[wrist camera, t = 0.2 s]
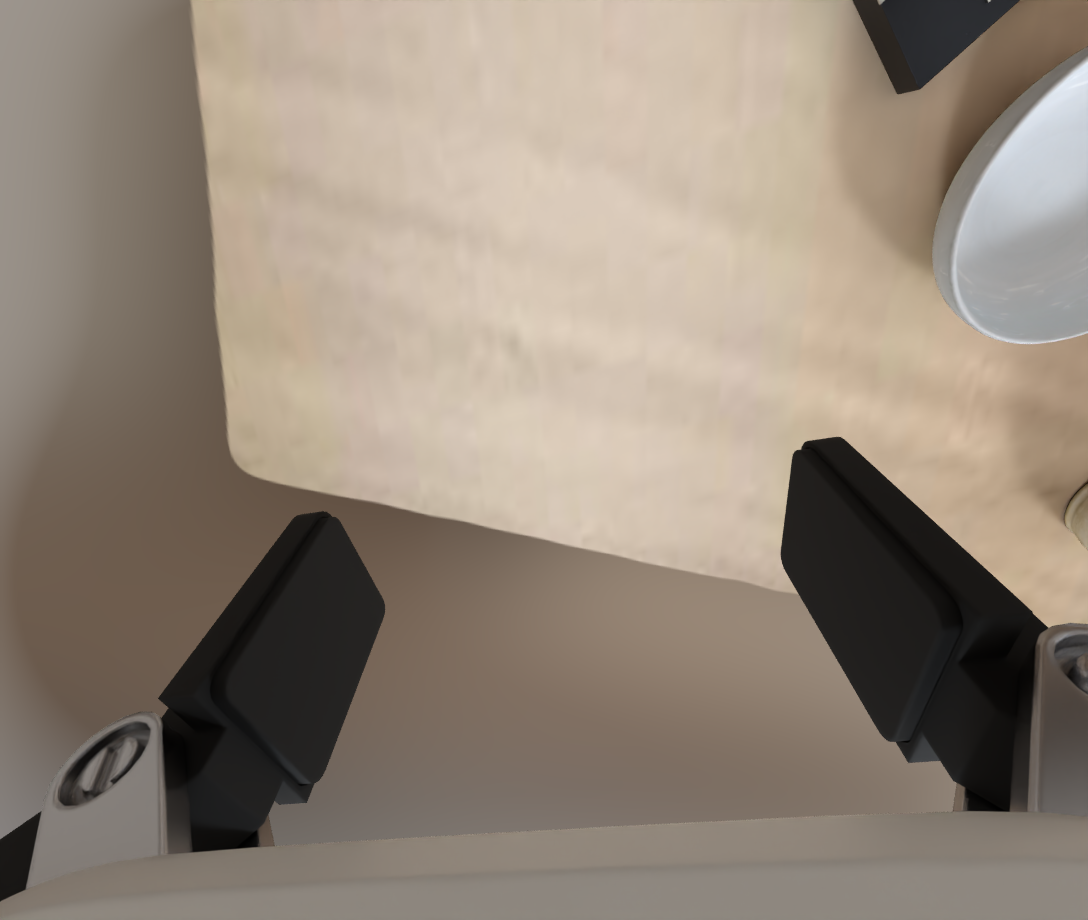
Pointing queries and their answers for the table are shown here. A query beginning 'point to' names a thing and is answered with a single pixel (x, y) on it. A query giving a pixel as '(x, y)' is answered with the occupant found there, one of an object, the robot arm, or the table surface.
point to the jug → (1078, 516)
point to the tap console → (925, 34)
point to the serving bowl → (1022, 217)
